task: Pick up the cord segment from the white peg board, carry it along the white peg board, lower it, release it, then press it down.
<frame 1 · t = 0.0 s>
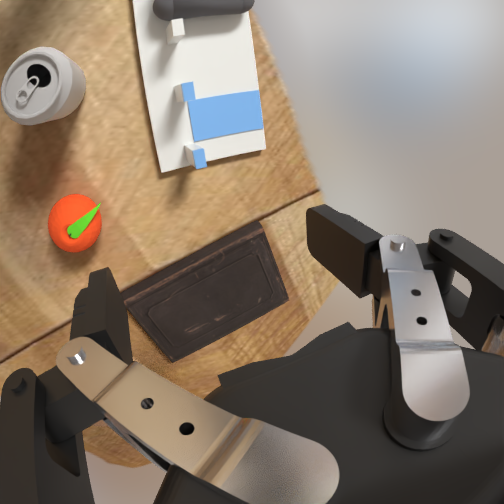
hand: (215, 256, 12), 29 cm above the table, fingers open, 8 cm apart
white peg board: (198, 61, 33), on the table
clementine: (81, 210, 36), on the table
can: (58, 89, 28), on the table
hardcover book: (207, 292, 49), on the table
cord segment: (200, 6, 28), point 1 cm above the table, touching white peg board
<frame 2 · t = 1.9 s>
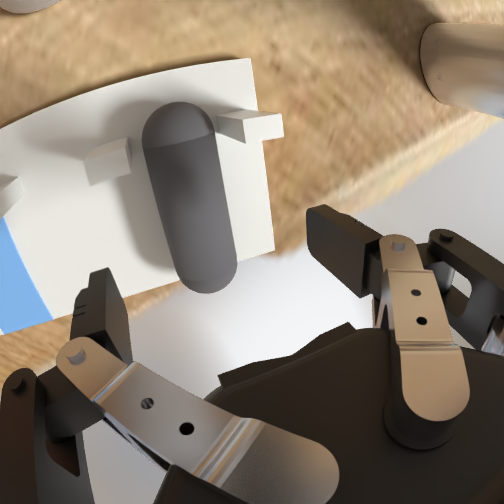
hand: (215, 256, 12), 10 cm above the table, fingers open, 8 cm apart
white peg board: (75, 208, 18), on the table
cord segment: (186, 194, 19), point 1 cm above the table, touching white peg board
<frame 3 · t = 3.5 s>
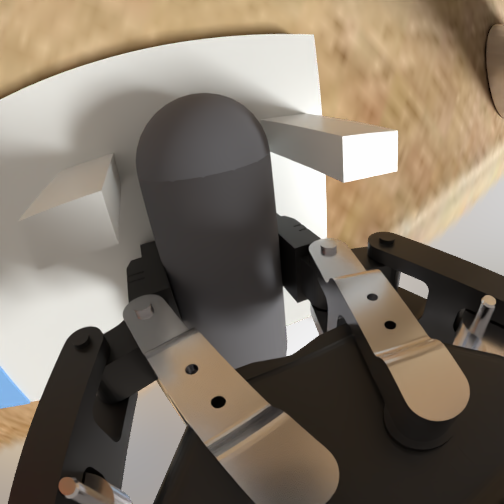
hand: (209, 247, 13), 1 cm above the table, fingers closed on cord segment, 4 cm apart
white peg board: (40, 263, 11), on the table
cord segment: (210, 245, 13), point 1 cm above the table, touching white peg board, gripper
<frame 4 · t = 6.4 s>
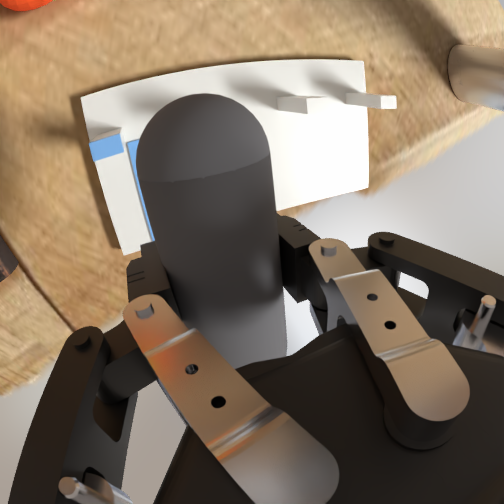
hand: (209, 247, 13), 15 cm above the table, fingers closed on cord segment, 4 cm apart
white peg board: (246, 140, 27), on the table
cord segment: (210, 245, 13), point 15 cm above the table, touching gripper
when the fingers open (3 cm above the table, at t = 9.5 s): cord segment drops 1 cm, resting on white peg board.
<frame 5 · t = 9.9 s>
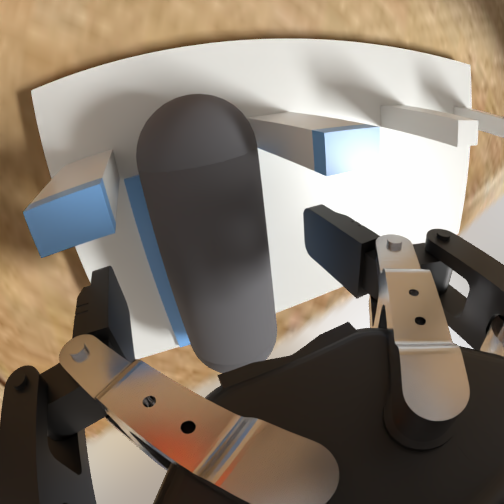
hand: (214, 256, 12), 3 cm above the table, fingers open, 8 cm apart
white peg board: (329, 171, 16), on the table
cord segment: (205, 235, 14), point 1 cm above the table, touching white peg board
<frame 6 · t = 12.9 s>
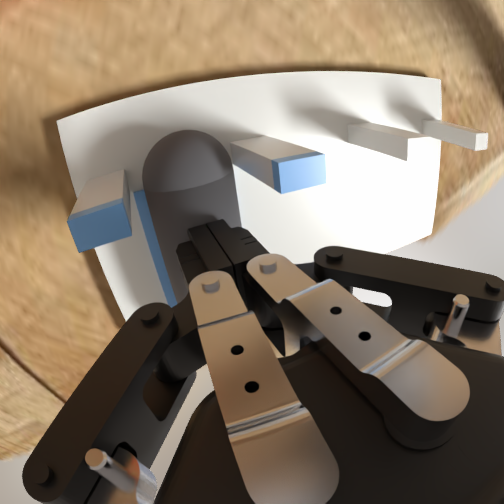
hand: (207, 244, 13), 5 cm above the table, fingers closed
white peg board: (303, 182, 19), on the table
cord segment: (197, 236, 17), point 1 cm above the table, touching white peg board, gripper
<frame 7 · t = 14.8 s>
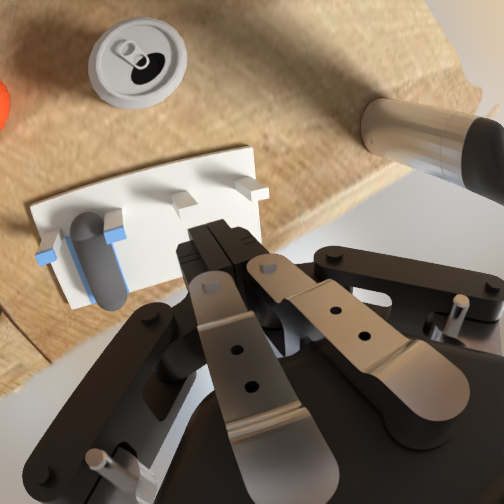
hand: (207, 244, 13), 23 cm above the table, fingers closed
white peg board: (151, 226, 35), on the table
can: (131, 75, 27), on the table
cord segment: (95, 257, 32), point 1 cm above the table, tilted 16°, touching white peg board
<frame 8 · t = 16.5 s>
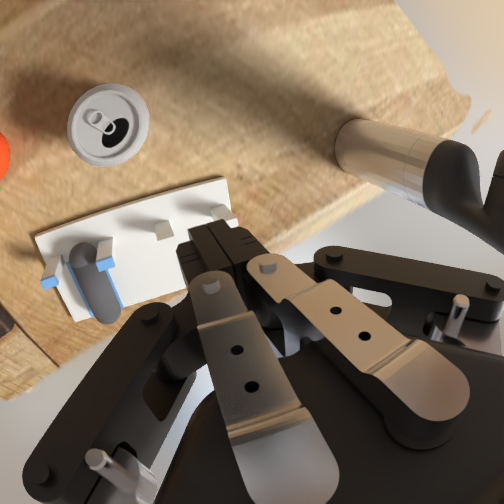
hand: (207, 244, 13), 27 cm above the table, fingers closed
white peg board: (140, 251, 40), on the table
can: (113, 120, 31), on the table
cord segment: (92, 278, 37), point 1 cm above the table, tilted 16°, touching white peg board
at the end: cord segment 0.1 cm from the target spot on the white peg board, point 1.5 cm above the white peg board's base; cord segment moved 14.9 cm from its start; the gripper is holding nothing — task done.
